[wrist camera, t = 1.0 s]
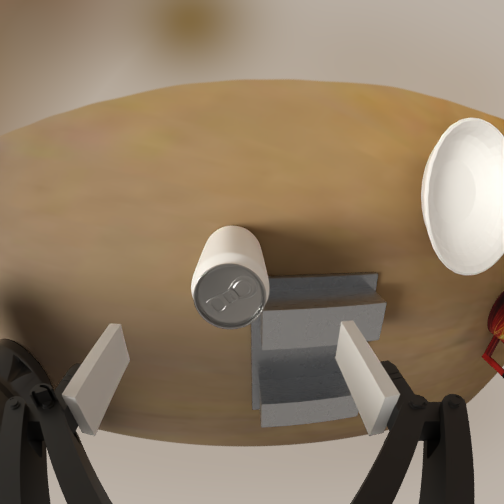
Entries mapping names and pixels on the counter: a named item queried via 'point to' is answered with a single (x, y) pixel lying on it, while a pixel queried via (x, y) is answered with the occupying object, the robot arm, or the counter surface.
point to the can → (230, 279)
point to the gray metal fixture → (309, 345)
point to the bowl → (466, 196)
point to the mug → (495, 332)
